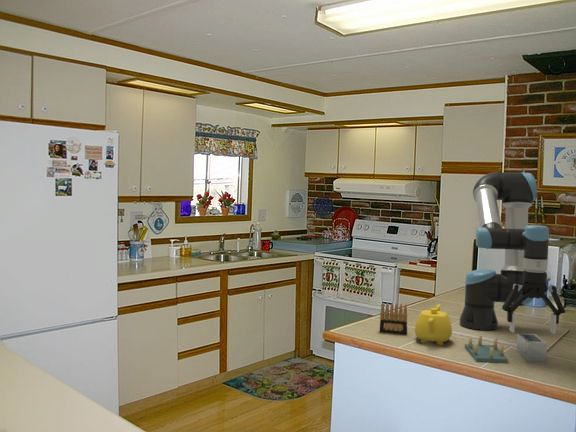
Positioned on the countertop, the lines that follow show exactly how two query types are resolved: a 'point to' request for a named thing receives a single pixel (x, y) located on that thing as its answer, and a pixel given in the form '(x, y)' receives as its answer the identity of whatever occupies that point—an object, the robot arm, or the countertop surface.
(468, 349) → the pegboard
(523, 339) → the grey box
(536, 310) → the countertop surface
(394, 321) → the ammunition clip
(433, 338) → the teapot
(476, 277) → the robot arm
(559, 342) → the countertop surface
